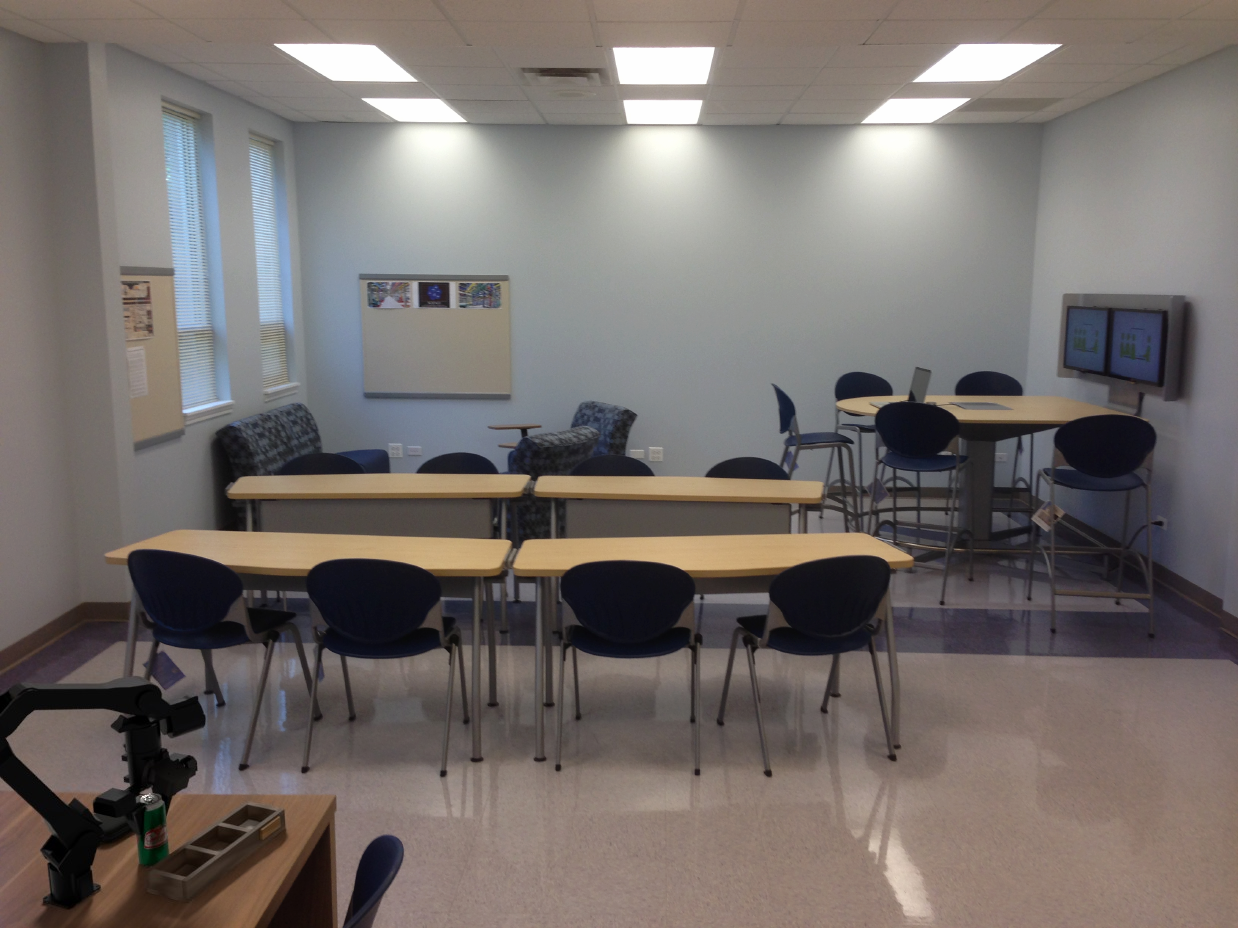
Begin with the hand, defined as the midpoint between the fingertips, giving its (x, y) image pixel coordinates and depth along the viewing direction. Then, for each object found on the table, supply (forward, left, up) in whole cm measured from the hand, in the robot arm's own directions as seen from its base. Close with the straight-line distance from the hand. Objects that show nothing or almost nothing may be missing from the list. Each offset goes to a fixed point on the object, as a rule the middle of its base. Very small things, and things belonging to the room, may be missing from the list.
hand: (151, 827), depth 175 cm
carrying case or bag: (-17, +8, -7) cm, 20 cm away
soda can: (0, 0, -7) cm, 7 cm away
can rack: (+11, +5, -6) cm, 14 cm away
